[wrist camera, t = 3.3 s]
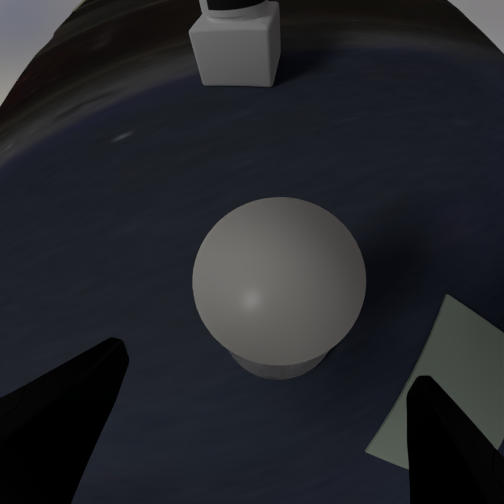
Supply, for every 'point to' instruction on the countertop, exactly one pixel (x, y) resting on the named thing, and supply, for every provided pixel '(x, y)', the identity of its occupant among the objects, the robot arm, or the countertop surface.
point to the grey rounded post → (279, 282)
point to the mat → (453, 378)
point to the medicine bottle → (237, 42)
